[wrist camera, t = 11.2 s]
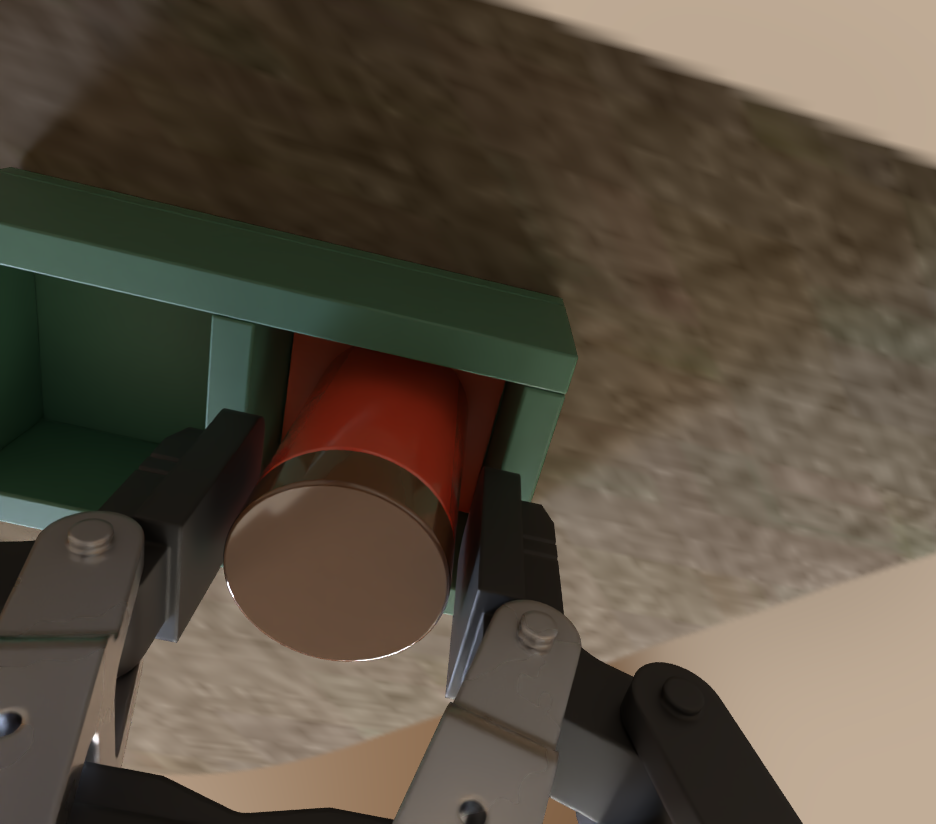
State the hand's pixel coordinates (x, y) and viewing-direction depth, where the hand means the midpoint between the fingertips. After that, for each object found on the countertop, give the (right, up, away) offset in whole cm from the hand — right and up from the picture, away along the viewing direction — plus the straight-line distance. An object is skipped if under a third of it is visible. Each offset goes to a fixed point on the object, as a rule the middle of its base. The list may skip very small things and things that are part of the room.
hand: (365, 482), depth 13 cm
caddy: (-3, +2, +3) cm, 5 cm away
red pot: (0, +1, +3) cm, 3 cm away
